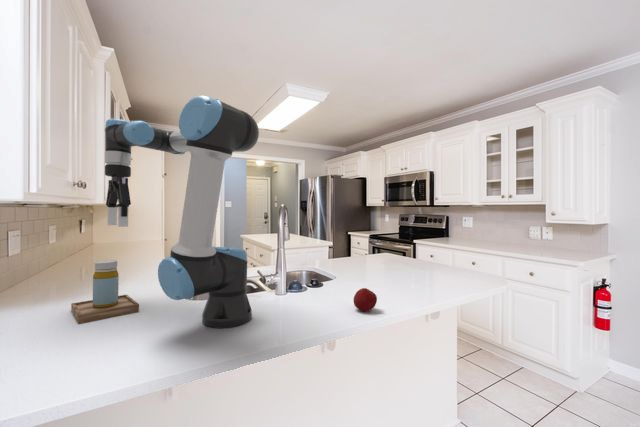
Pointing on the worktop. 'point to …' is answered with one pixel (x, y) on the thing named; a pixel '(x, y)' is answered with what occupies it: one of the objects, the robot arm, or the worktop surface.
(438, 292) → the worktop surface
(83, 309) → the tray
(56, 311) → the worktop surface
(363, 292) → the apple
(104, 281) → the bottle
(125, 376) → the worktop surface
